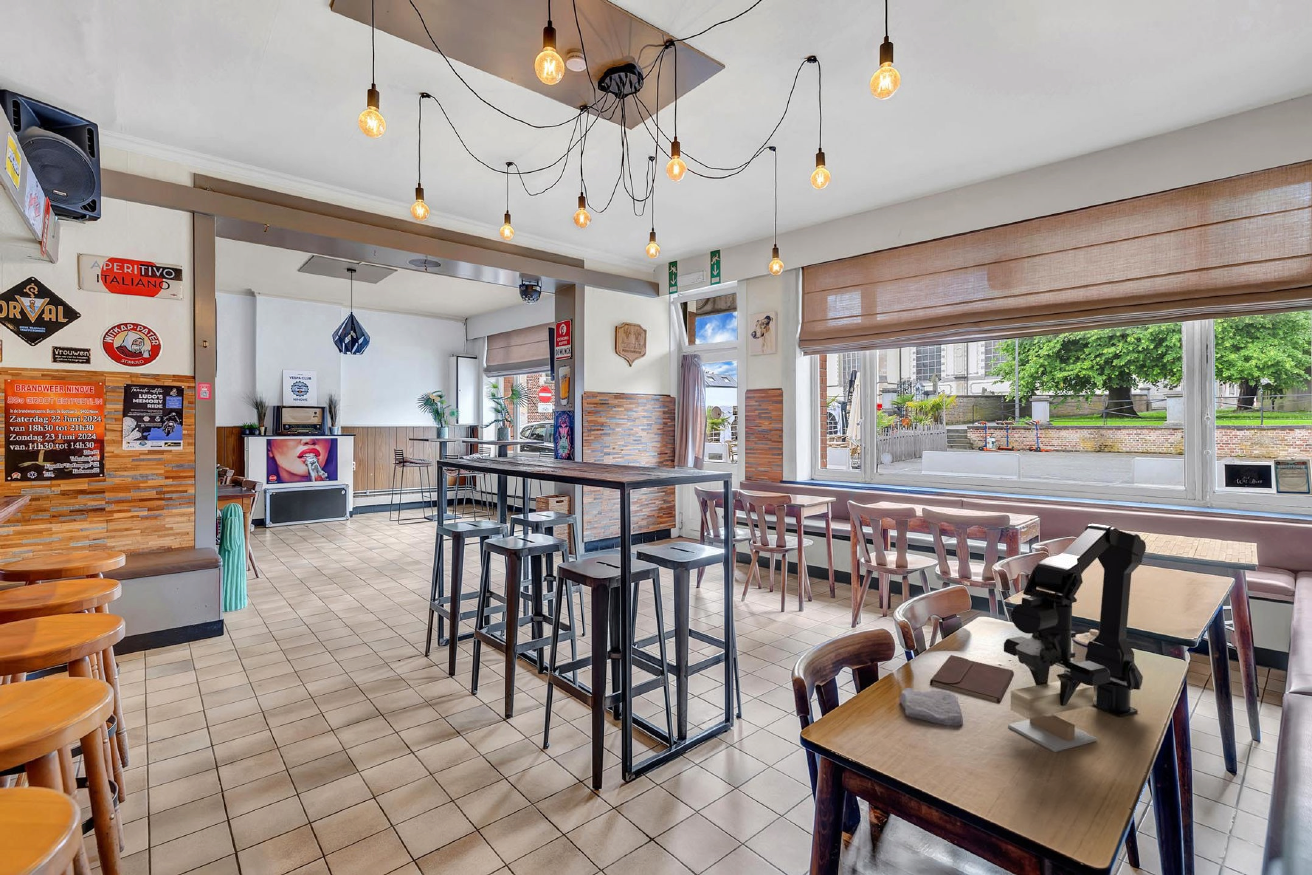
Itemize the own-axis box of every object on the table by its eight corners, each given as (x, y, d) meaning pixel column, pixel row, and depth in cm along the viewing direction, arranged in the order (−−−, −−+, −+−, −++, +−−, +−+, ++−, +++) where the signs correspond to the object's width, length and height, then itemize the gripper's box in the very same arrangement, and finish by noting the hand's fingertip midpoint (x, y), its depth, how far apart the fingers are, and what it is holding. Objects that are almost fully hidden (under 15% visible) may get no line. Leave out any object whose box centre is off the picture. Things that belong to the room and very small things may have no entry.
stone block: (966, 736, 126) (955, 705, 135) (967, 716, 125) (956, 686, 134) (905, 730, 129) (899, 701, 138) (906, 710, 128) (899, 682, 137)
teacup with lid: (1113, 687, 146) (1115, 639, 145) (1068, 676, 152) (1069, 630, 151) (1118, 672, 155) (1119, 627, 154) (1075, 662, 161) (1076, 619, 160)
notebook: (1013, 676, 152) (1014, 668, 152) (999, 704, 137) (1000, 696, 137) (949, 661, 162) (949, 653, 162) (929, 686, 146) (929, 678, 146)
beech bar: (1074, 696, 128) (1074, 678, 128) (1093, 705, 124) (1093, 686, 124) (1010, 709, 122) (1010, 690, 122) (1028, 718, 118) (1028, 698, 118)
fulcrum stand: (1048, 717, 130) (1048, 701, 130) (1096, 740, 121) (1096, 722, 121) (1008, 727, 126) (1008, 710, 126) (1054, 751, 116) (1055, 733, 116)
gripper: (985, 615, 129) (984, 687, 129) (1073, 646, 111) (1071, 729, 112) (1023, 609, 133) (1021, 679, 133) (1113, 638, 115) (1111, 719, 116)
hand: (1052, 700), depth 123 cm, fingers closed on beech bar, 4 cm apart
